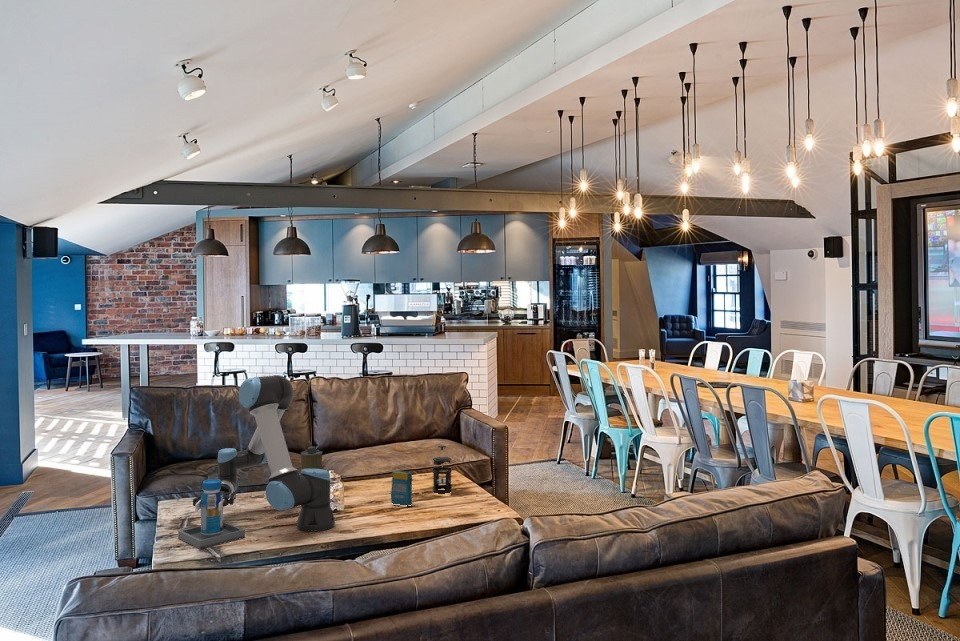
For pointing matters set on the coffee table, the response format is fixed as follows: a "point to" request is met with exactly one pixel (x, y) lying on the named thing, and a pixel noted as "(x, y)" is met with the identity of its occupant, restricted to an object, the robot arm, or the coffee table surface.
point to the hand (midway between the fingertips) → (208, 507)
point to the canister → (311, 459)
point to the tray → (210, 536)
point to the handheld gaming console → (401, 488)
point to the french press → (436, 475)
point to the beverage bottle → (211, 508)
